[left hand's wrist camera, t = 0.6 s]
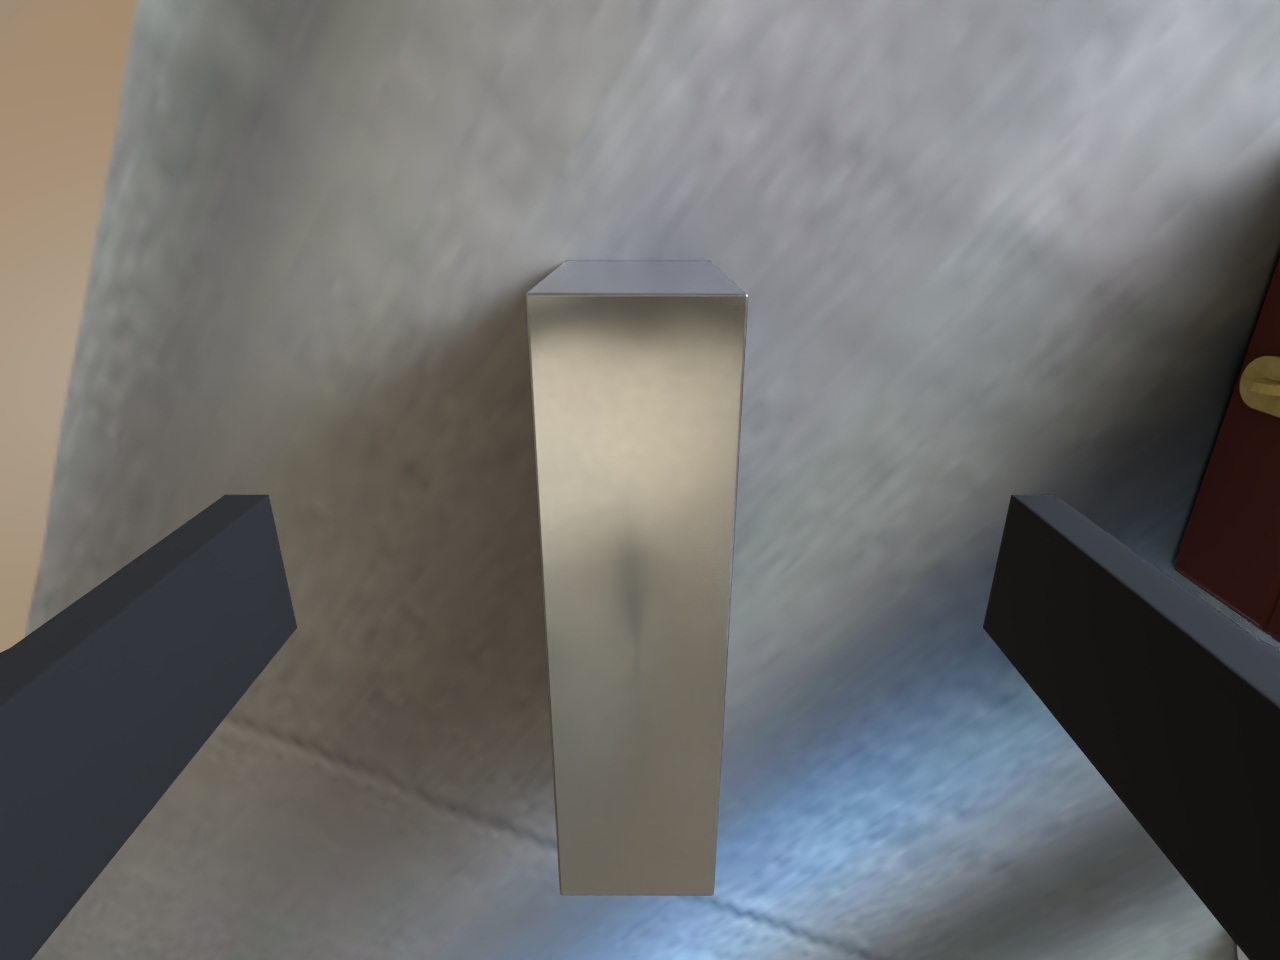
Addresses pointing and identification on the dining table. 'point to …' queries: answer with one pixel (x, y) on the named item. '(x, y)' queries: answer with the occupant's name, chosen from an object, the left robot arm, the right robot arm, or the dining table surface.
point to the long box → (636, 560)
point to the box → (1244, 489)
